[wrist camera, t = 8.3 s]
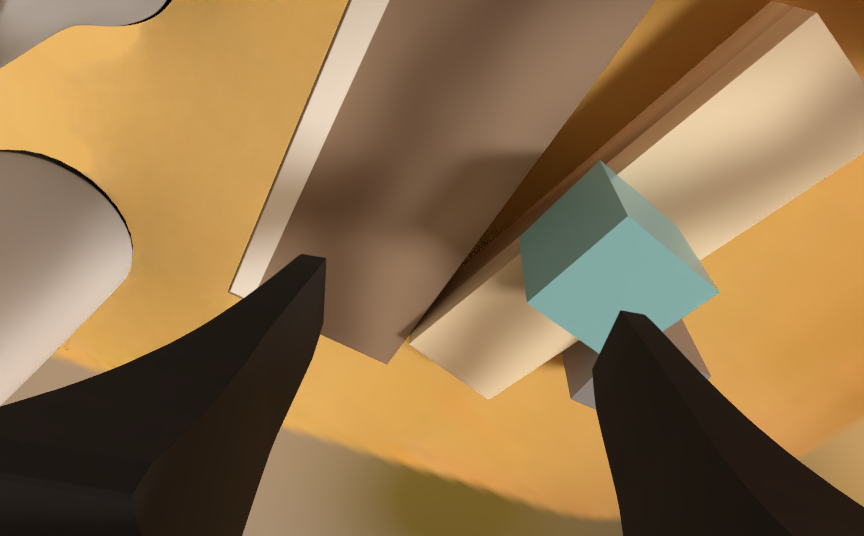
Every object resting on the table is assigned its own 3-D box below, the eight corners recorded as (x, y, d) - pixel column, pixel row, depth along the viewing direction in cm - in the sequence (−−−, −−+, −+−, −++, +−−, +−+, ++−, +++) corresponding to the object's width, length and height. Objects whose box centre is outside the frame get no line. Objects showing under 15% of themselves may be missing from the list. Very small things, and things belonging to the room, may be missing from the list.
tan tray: (841, 102, 18) (896, 130, 16) (487, 355, 27) (488, 399, 24) (767, -1, 17) (817, 12, 14) (415, 302, 25) (408, 343, 23)
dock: (684, -73, 16) (710, -72, 14) (392, 336, 26) (386, 365, 24) (462, -246, 14) (459, -270, 12) (244, 267, 24) (226, 293, 23)
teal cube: (676, 226, 18) (719, 292, 15) (593, 292, 20) (614, 364, 17) (599, 159, 17) (628, 215, 14) (518, 237, 19) (526, 303, 16)
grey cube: (609, 280, 23) (679, 314, 24) (558, 337, 25) (624, 366, 26) (630, 338, 20) (711, 376, 21) (570, 398, 22) (645, 430, 23)
